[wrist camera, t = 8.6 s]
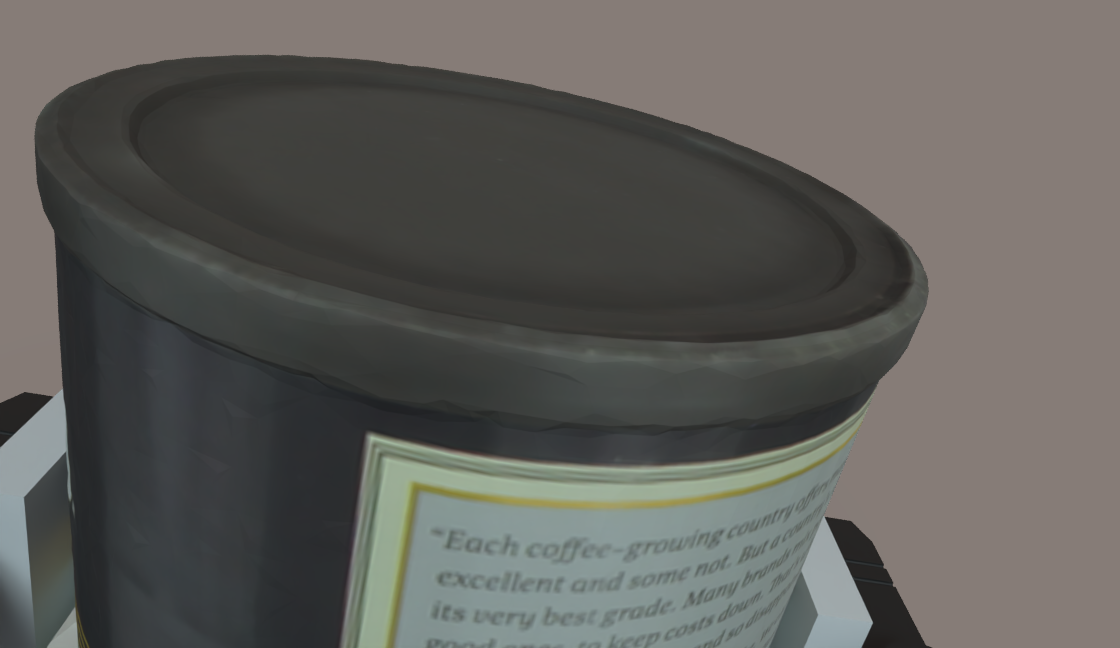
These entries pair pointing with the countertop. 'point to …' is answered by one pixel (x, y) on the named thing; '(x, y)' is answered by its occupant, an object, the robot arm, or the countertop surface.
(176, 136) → the coffee can
